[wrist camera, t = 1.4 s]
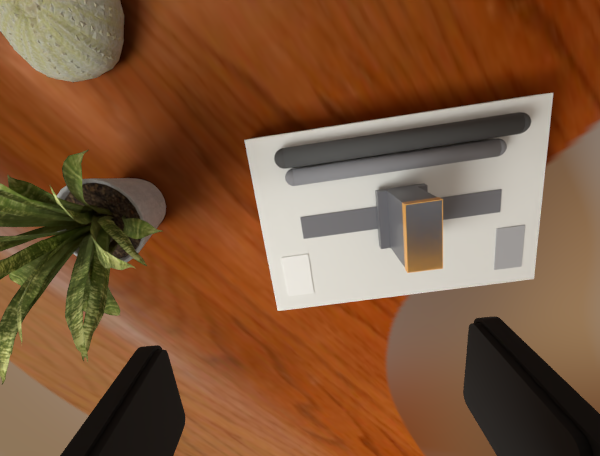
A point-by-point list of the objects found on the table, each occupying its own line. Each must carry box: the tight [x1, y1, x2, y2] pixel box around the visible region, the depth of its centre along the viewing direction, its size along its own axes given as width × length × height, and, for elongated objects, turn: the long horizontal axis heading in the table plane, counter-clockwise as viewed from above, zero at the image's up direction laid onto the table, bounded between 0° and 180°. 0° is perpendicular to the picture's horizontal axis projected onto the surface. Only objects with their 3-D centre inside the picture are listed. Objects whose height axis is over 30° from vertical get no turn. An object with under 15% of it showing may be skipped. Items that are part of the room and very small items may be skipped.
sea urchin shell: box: [0, 0, 125, 82], centre depth 23 cm, size 9×8×8 cm
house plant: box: [0, 150, 166, 384], centre depth 22 cm, size 14×14×16 cm
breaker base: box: [244, 93, 553, 311], centre depth 27 cm, size 24×16×5 cm, turn 98°
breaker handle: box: [375, 183, 443, 273], centre depth 24 cm, size 4×5×5 cm
